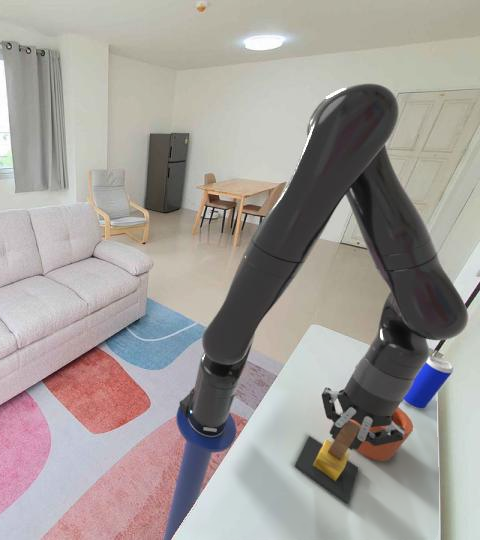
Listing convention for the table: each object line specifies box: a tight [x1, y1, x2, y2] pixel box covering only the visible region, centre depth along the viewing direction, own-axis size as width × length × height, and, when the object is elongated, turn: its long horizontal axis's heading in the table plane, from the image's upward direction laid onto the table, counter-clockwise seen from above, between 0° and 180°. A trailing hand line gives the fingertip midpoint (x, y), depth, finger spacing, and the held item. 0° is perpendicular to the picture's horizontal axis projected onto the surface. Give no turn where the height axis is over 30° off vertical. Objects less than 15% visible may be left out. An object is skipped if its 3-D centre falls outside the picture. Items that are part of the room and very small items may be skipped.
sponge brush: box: [313, 420, 360, 481], centre depth 63 cm, size 4×4×14 cm
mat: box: [294, 435, 359, 504], centre depth 66 cm, size 10×10×1 cm
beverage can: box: [402, 355, 454, 410], centre depth 80 cm, size 5×5×15 cm
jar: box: [349, 406, 414, 462], centre depth 70 cm, size 10×10×10 cm
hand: (342, 441), depth 62 cm, fingers closed on sponge brush, 2 cm apart
